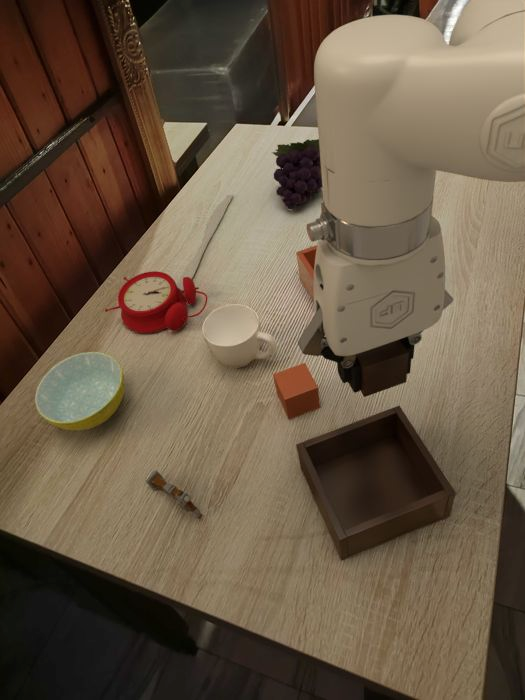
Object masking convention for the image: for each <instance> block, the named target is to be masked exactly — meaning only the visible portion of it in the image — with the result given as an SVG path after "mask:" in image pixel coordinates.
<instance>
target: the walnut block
mask: <svg viewBox="0 0 525 700" xmlns="http://www.w3.org/2000/svg"><path fill="white" fill-rule="evenodd" d="M408 356H409V352H408V351H407V350H406V348H405V347H404V345H403V344H402V342H401V341H400V340H396V341H393V342H390V343H388V344H385V345H382V346H379V347H376V348H373V349H370V350H367V351H364V352H361V353H358V354H357V357H356V359H357V361H358V363H359V364H360V369H361V389H360V391H359V392H360V393H361V395H362V396H363V398H366V397H369V396H372V395H374V394H377V393H380V392H383V391H386V390H389V389H391V388H394V387H397V386H400V385H402V384H403V385H404V384H405V383H407V378H408V374H407V368H408Z"/></svg>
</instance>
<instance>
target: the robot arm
mask: <svg viewBox="0 0 525 700" xmlns="http://www.w3.org/2000/svg"><path fill="white" fill-rule="evenodd" d="M313 80H314V83H313V84H314V93H315V94H314V95H315V106H316V107H315V108H316V121H317V134H318V139H319V148H320V161H321V174H322V188H321V189H322V199H323V201H322V202H320V210H321V212H320V215H319V217H318V218H316V219H315V221H311V222H309V223H307V224H306V232H307V236H308V238H309V240H310V242H311V243H314V242H317V244H316V245H317V250H316V257H315V266H314V302H313V311H314V315H313V317H312V318H311V320H310V321H309V323H308V324H307V326H306V328H305V329H304V331H303V332H302V334H301V335H300V337H299V339H298V340H297V345H298V347H299V349H300V350H301V352H302V354H303V355H305V356H312V357H313V356H314V357H323V359H325V360H328V361H331V362H335V363H336V366H337V367H336V369H337V373H338V376H339V379H340V380H341V382H342V383H343V384H346V383H348V385H349V386H350V388H351V390H352V392H353V393H354V394H356V393H359V392H361V391H360V389H361V369H360V364H359V363H358V361H357V359H356V357H357V354H358V353H361V352H364V351H367V350H370V349H373V348H376V347H379V346H382V345H385V344H388V343H390V342H393V341H396V340H400V341H401V342H402V344H403V345H404V347H405V348H406V350H407V351H408V352H409V356H408V368H407V375H409V374H411V368H412V367H411V366H412V360H413V359H414V356H415V345H417V344H419V343H420V342H421V340H422V338H423V337H422V333H423V332H424V331H425V330H428V329H430V328H431V327H433V326H434V325H436V324H437V323H438V322H439V321H440V320H441V317H442V315H443V311H444V310H445V309H446V308H447V307H449V306H450V305H452V303H453V302H454V298H453V296H452V295H451V294H450V292H448V291H447V289H446V258H445V247H444V240H443V239H444V238H443V232H442V228H441V227H442V226H441V224H440V222H439V221H438V219H436V217H434V216H433V205H434V194H435V184H436V174H437V172H438V171H439V172H442V173H443V172H444V173H447V174H448V173H449V174H453V175H458V176H463V177H468V178H474V179H478V180H483V181H484V180H485V181H490V182H492V181H493V182H500V183H501V182H503V183H520V182H523V183H524V182H525V0H469V1H468V2H467V4H466V5H465V6H464V8H463V9H462V11H461V13H460V14H459V16H458V18H457V19H456V22H455V24H454V26H453V28H452V31H451V34H450V37H449V42H448V43H447V41H446V39H445V37H444V35H443V34H442V31H441V30H440V29H439V28H438V27H437V26H436V25H435V24H433V23H432V22H430V21H429V20H426V19H424V18H422V17H417V16H412V15H406V14H381V15H373V16H368V17H364V18H360V19H357V20H353V21H351V22H348V23H346V24H343V25H341V26H339V27H338V28H336V29H334V30H333V31H331V32H330V33H329V34H328V35H327V36H326V37H325V38H324V39H323V41H322V42H321V43H320V45H319V47H318V49H317V51H316V54H315V58H314V64H313Z"/></svg>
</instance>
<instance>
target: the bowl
mask: <svg viewBox="0 0 525 700" xmlns="http://www.w3.org/2000/svg"><path fill="white" fill-rule="evenodd" d="M124 394H125V376H124V372H123V369H122V366H121V365H120V363H119V361H118V360H116V358H114V357H113V356H111V355H109V354H107V353H104V352H100V351H99V352H98V351H86V352H85V351H84V352H80V353H77V354H74V355H71V356H68V357H66V358H64V359H62V360H61V361H58V363H56V364H55V365H53V367H51V368H50V369H49V370H48V371H47V372H46V373H45V374H44V376H43V377H42V378H41V380H40V382H39V384H38V385H37V387H36V391H35V397H34V403H35V408H36V410H37V411H38V414H39V415H40V416H41V417H43V419H44V420H46V421H47V422H49V423H50V424H51V425H53V426H55V427H57V428H60V429H63V430H67V431H84V430H89V429H92V428H95V427H98V426H99V425H102V424H103V423H104V422H106V421H108V420H109V419H110V418H111V417H112V416H113V415H114V414H115V412H116V411H117V410H118V409H119V407H120V404H121V402H122V400H123V397H124Z"/></svg>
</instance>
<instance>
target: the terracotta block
mask: <svg viewBox="0 0 525 700" xmlns="http://www.w3.org/2000/svg"><path fill="white" fill-rule="evenodd" d="M272 377H273V382H274V386H275V391H276V395H277V397H278V399H279V401H280V404H281V406H282V409H283V411H284V413H285V415H286V417H287V419H288V420H291V419H294V418H297V417H300V416H302V415H305V414H308V413H310V412H313V411H316V410H318V409H321V402H320V400H321V399H320V391H319V386H318V385H317V382H316V381H315V379H314V377H313V375H312V373H311V371H310V369H309V367H308V366H307V364H306V362H303V363H300V364H297V365H294V366H292V367H289V368H286V369H284V370H281V371H278V372H275V373H273V374H272Z"/></svg>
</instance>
